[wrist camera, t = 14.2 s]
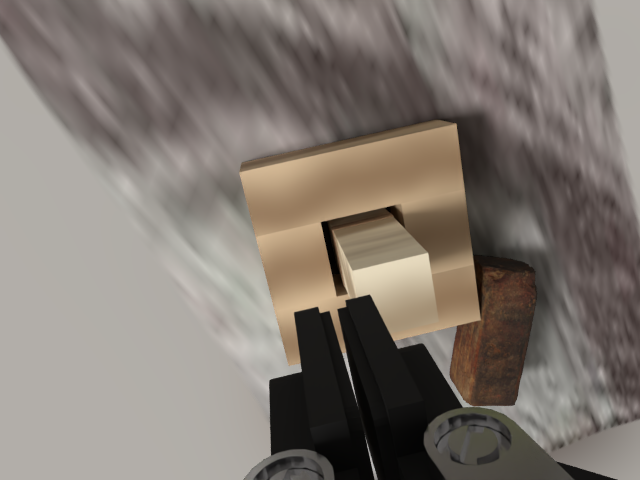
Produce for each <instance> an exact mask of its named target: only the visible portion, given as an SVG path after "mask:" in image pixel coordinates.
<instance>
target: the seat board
mask: <svg viewBox="0 0 640 480" xmlns="http://www.w3.org/2000/svg"><path fill="white" fill-rule="evenodd" d="M239 173H240V177H241V181H242V184H243V188H244V192H245V196H246V200H247V204H248V208H249V212H250V216H251V220H252V224H253V228H254V231H255V235H256V239H257V243H258V247H259V251H260V255H261V259H262V263H263V267H264V271H265V274H266V278H267V282H268V286H269V290H270V294H271V298H272V302H273V306H274V310H275V314H276V317H277V321H278V325H279V329H280V333H281V337H282V341H283V345H284V349H285V353H286V357H287V360H288V364H289V366H290V365H295V364H299V363H301V361H300V354H299V347H298V340H297V332H296V325H295V318H294V312H297V311H301V310H306V309H310V308H314V307H318V308H319V312H320V313H322V312H326V311H330V314H331V317H332V321H333V324H334V328H335V331H336V334H337V338H338V341H339V345H340V348H341V351H342V353H345V352H346V348H345V344H344V339H343V334H342V330H341V325H340V321H339V316H338V311H337V309H339V308H343V307H346V302H345V300H348V299H350V297H349V295H348V292H347V290H346V287H344V285H343V282H342V278H341V275H340V274H336V275H332V273H331V268H330V263H329V259H328V254H327V249H326V245H325V240H324V235H323V230H322V226H321V222H323V221H327V220H332V219H336V218H341V217H345V216H349V215H354V214H358V213H362V212H367V211H371V210H376V209H380V208H384V207H389V206H390V210H391V214H392V215H393V216H394V218H395V219H396V220H397V221H398V222H399V223H400V224H401V225H402V226H403V227H404V228H405V229H406V231H407V232H408V233H409V234H410V235H411V236H412V237H413V238H414V239H415V240H416V241H417V242H418V243H419V244H420V245H421V246H422V247H423V248H424V249H425V250H426V251H427V252H428V255H429V262H430V268H431V274H432V281H433V287H434V293H435V300H436V306H437V313H438V319H439V322H436V323H432V324H428V325H424V326H420V327H415V328H411V329H407V330H403V331H399V332H395V333H391V334H390V335H391V337H392V338H393V340H394V341H395V340H399V339H403V338H408V337H412V336H416V335H420V334H424V333H428V332H433V331H437V330H441V329H445V328H449V327H454V326H458V325H462V324H466V323H470V322H474V321H479V320H481V318H480V310H479V302H478V294H477V286H476V278H475V270H474V262H473V253H472V245H471V237H470V229H469V221H468V213H467V205H466V197H465V189H464V181H463V173H462V165H461V157H460V149H459V141H458V133H457V124H455V123H450V122H446V121H441V120H437V119H436V120H432V121H427V122H423V123H418V124H414V125H409V126H405V127H400V128H396V129H391V130H387V131H382V132H378V133H373V134H369V135H364V136H360V137H355V138H351V139H346V140H342V141H337V142H333V143H328V144H324V145H319V146H315V147H310V148H306V149H301V150H297V151H292V152H288V153H283V154H279V155H274V156H270V157H266V158H261V159H257V160H252V161H248V162H243V163H242V164H241V168H240V172H239Z"/></svg>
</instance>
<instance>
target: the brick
mask: <svg viewBox="0 0 640 480" xmlns="http://www.w3.org/2000/svg"><path fill="white" fill-rule="evenodd" d="M473 262H474V270H475V278H476V286H477V294H478V302H479V310H480V318H481V320H479V321H474V322H470V323H466V324H462V325H458V326H457V332H456V336H455V342H454V347H453V355H452V361H451V366H450V378H451V380H452V382H453V383H454V384H455V386H456V388H457V390H458V391H459V393H460V394H461V396H462V398H463V400H465V401H466V402H467V403H469V404H470V405H472V406H512V405H515V402H516V400H517V396H518V390H519V384H520V379H521V375H522V371H523V365H524V360H525V355H526V350H527V346H528V341H529V335H530V331H531V326H532V321H533V316H534V310H535V306H536V299H537V291H536V285H535V271H534V269H533V268H532V267H529V265H528V264H526V263H524V262H521V261H517V260H513V259H507V258H498V257H489V256H487V257H485V256H482V255H475V256H473Z"/></svg>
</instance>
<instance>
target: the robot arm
mask: <svg viewBox="0 0 640 480" xmlns="http://www.w3.org/2000/svg"><path fill="white" fill-rule="evenodd" d="M345 302H346V307H343V308H339V309H337V311H338V316H339V321H340V325H341V330H342V334H343V339H344V344H345V348H346V353H347V358H348V362H349V367H350V372H351V376H352V381H353V386H354V390H355V395H356V399H357V402H356V399H355V395H354V392H353V389H352V385H351V382H350V379H349V375H348V372H347V368H346V365H345V362H344V358H343V355H342V351H341V348H340V345H339V341H338V338H337V334H336V331H335V328H334V324H333V321H332V317H331V314H330V311H326V312H322V313H320V312H319V308H318V307H314V308H310V309H306V310H301V311H297V312H294V318H295V325H296V332H297V340H298V347H299V354H300V361H301V369H302V372H300V373H296V374H291V375H287V376H283V377H279V378H275V379H271V380H270V382H269V391H270V430H271V456H270V457H268V458H266V459H264V460H263V461H262V462H260V463H259V464H257V465H256V466H255V467H254V468H252V470H251V471H250V472H249V473H248V474H247V476H246V477H245V478H244V480H374V476H373V471H372V466H371V462H370V457H369V452H368V448H367V444H368V447H369V450H370V454H371V457H372V461H373V464H374V468H375V471H376V474H377V478H378V480H617V479H613V478H610V477H607V476H603V475H600V474H596V473H593V472H590V471H586V470H583V469H580V468H576V467H573V466H570V465H566V464H563V463H560V462H556V461H555V460H554V459H553V458H551V457H550V456H549V455H548V454H547V453H546V452H545V451H544V450H543V449H542V448H541V447H540V446H539V445H538V444H537V443H536V442H535V441H534V440H533V439H532V438H531V437H530V436H529V435H528V434H527V433H526V432H525V431H524V430H522V429H521V428H520V427H519V426H518V425H517V424H516V423H515V422H514V421H513V420H511V419H510V418H508V417H507V416H506V415H504V414H502V413H499V412H497V411H494V410H492V409H486V408H480V407H465V408H463V407H462V405H461V404H460V402H459V401H458V399H457V397H456V396H455V394H454V392H453V391H452V389H451V388H450V386H449V384H448V383H447V381H446V379H445V378H444V376H443V375H442V373H441V371H440V370H439V368H438V366H437V365H436V363H435V362H434V360H433V358H432V357H431V355H430V353H429V352H428V350H427V349H426V347H425V346H424V344H422V343H421V344H416V345H412V346H408V347H404V348H400V349H398V348H397V346H396V344H395V342H394V340H393V338H392V337H391V335H390V333H389V331H388V329H387V327H386V325H385V323H384V321H383V319H382V317H381V315H380V313H379V311H378V309H377V307H376V305H375V303H374V301H373V299H372V297H371V295H365V296H361V297H357V298H352V299H348V300H345ZM357 404H358V406H357ZM364 433H365V434H364ZM365 437H366V438H365ZM366 440H367V443H366Z"/></svg>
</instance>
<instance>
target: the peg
mask: <svg viewBox="0 0 640 480" xmlns="http://www.w3.org/2000/svg"><path fill="white" fill-rule="evenodd" d="M327 224H328V229H329V233H330V238H331V243H332V247H333V252H334V257H335V261H336V265H337V268H338V270H339V273H340V275H341V278H342V282H343V285H344V287H346V290H347V292H348V295H349V297H350V299H352V298H357V297H361V296H365V295H371V297H372V299H373V301H374V303H375V305H376V307H377V309H378V311H379V313H380V315H381V317H382V319H383V321H384V323H385V325H386V327H387V329H388V331H389V333H390V334H391V333H395V332H399V331H403V330H407V329H411V328H415V327H420V326H424V325H428V324H432V323H436V322H439V319H438V313H437V306H436V300H435V293H434V287H433V281H432V274H431V268H430V262H429V255H428V252H427V251H426V250H425V249H424V248H423V247H422V246H421V245H420V244H419V243H418V242H417V241H416V240H415V239H414V238H413V237H412V236H411V235H410V234H409V233H408V232H407V231H406V229H405V228H404V227H403V226H402V225H401V224H400V223H399V222H398V221H397V220H396V219H395V218H394V216H393V215H392V214H391V213H389V212H388V211H387V210H386V209H385V208H380V209H376V210H371V211H367V212H362V213H358V214H354V215H349V216H345V217H341V218H336V219H332V220H327Z"/></svg>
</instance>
